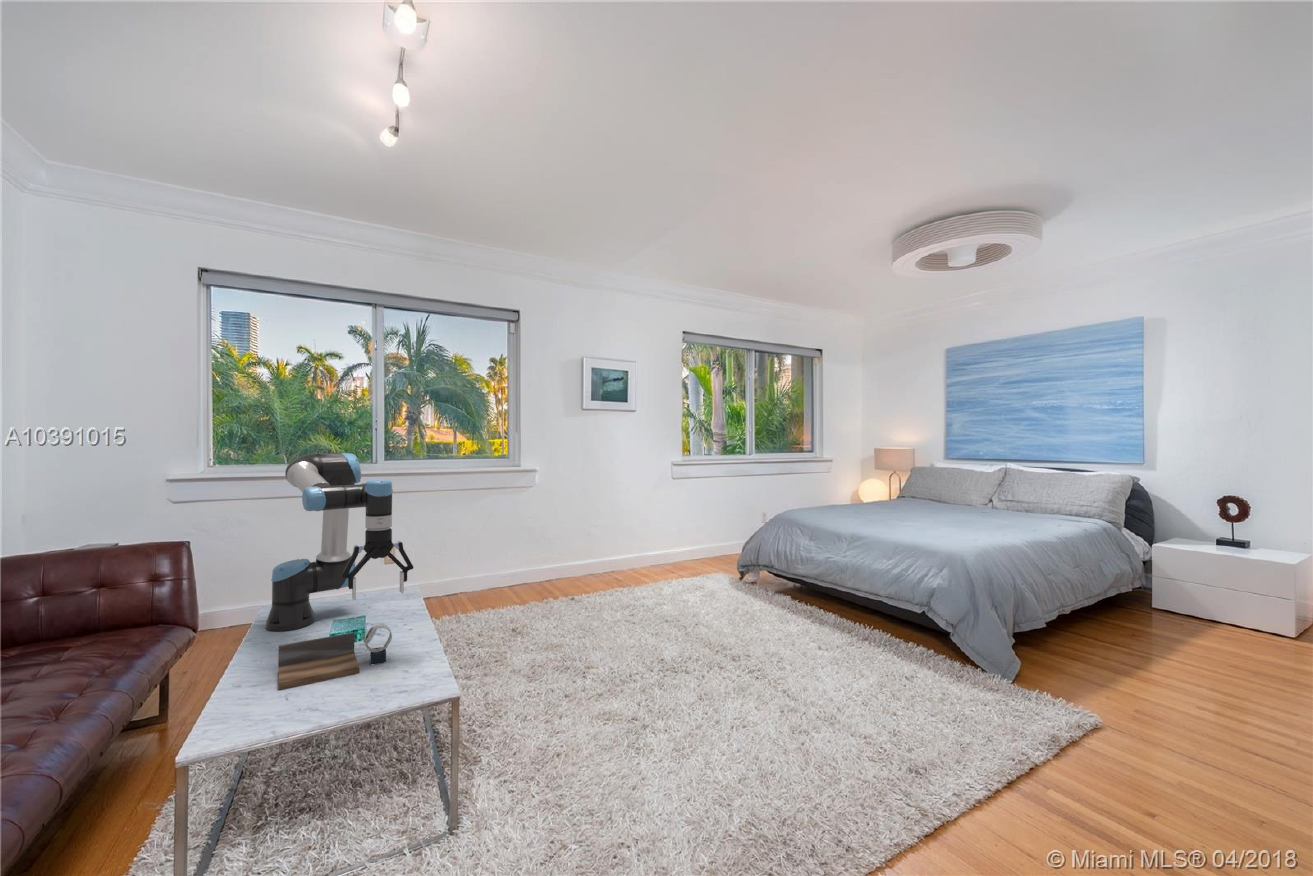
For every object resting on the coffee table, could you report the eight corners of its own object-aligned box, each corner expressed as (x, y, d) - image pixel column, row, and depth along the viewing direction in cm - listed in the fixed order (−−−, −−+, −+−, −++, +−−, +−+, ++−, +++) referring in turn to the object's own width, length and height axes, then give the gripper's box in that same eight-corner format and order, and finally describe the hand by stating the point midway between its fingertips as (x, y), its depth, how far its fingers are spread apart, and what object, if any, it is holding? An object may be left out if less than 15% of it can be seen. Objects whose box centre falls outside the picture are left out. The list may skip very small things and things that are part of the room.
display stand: (278, 672, 165) (278, 645, 165) (353, 657, 176) (353, 632, 176) (278, 690, 154) (278, 661, 153) (359, 673, 165) (359, 646, 165)
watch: (363, 659, 175) (363, 625, 175) (391, 655, 178) (391, 621, 178) (363, 666, 170) (363, 631, 170) (392, 661, 174) (392, 627, 173)
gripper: (334, 534, 163) (333, 605, 164) (423, 526, 178) (422, 592, 178) (332, 530, 170) (331, 598, 170) (418, 523, 184) (417, 586, 184)
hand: (378, 595), depth 174 cm, fingers open, 13 cm apart
